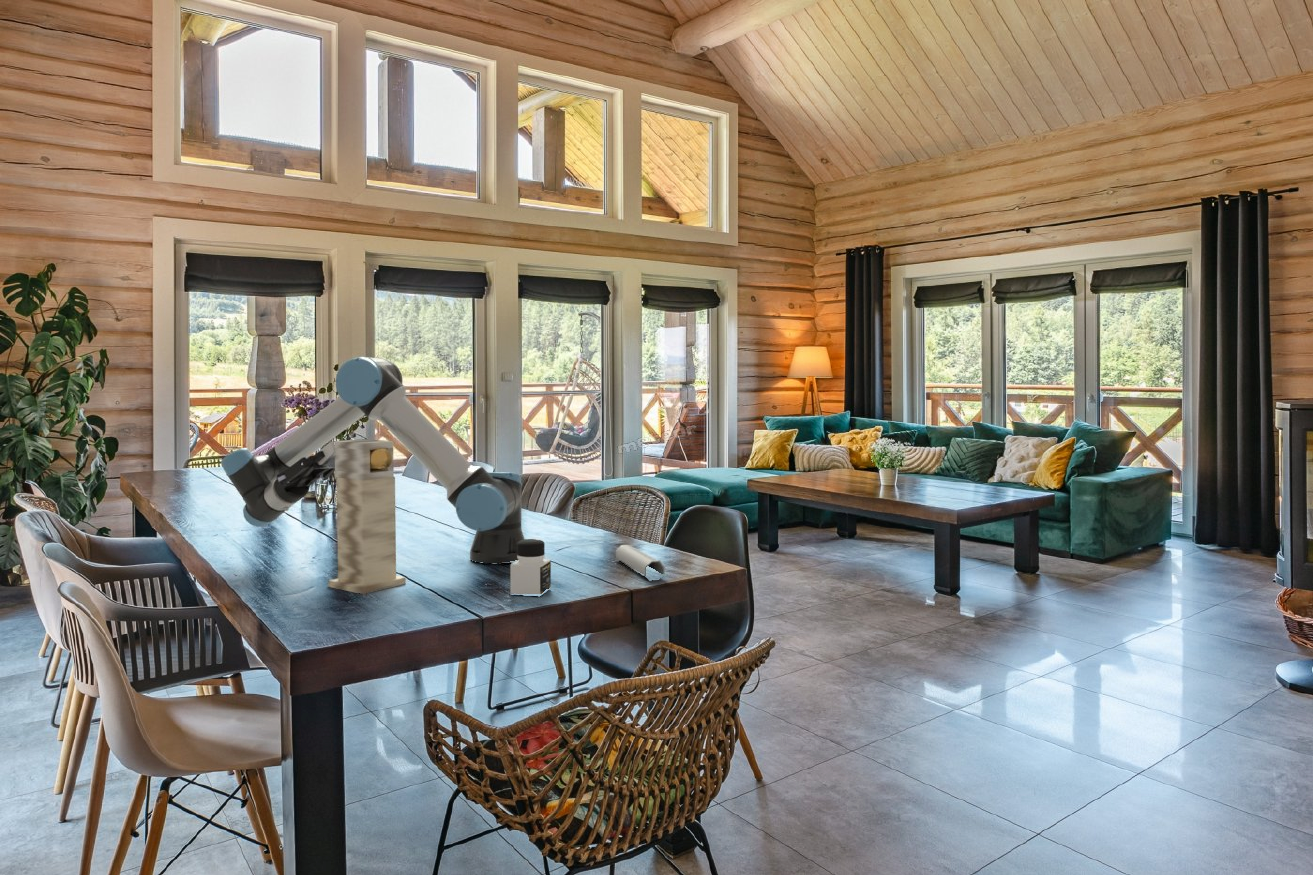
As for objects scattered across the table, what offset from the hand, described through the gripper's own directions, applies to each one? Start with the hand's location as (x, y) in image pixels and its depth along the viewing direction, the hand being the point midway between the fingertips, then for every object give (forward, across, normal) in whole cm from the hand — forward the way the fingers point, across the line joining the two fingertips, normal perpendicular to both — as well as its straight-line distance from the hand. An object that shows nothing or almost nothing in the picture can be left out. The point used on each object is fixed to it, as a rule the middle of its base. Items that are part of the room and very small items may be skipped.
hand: (340, 446), depth 205 cm
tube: (+28, -49, -53) cm, 77 cm away
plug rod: (-1, 0, -6) cm, 6 cm away
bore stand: (-9, 0, -31) cm, 33 cm away
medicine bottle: (+22, -16, -50) cm, 57 cm away
